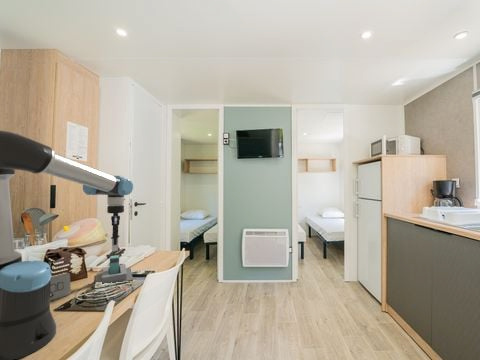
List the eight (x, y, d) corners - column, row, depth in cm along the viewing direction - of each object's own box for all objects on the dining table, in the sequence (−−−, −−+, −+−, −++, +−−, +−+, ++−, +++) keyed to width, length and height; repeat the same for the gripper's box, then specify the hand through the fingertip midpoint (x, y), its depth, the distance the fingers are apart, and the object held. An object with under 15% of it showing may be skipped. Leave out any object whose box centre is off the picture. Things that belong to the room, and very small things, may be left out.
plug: (118, 276, 110) (119, 257, 110) (109, 278, 108) (109, 258, 108) (118, 274, 114) (119, 255, 114) (109, 275, 112) (110, 256, 112)
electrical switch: (42, 303, 87) (42, 280, 88) (39, 300, 90) (40, 278, 91) (71, 294, 94) (71, 273, 95) (67, 292, 97) (67, 271, 98)
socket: (132, 281, 107) (133, 273, 107) (94, 289, 99) (94, 280, 99) (130, 269, 123) (130, 262, 123) (96, 275, 115) (97, 267, 115)
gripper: (124, 205, 108) (123, 252, 108) (123, 203, 119) (122, 246, 119) (107, 206, 104) (106, 255, 104) (107, 204, 116) (106, 248, 115)
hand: (115, 250), depth 111 cm, fingers closed
